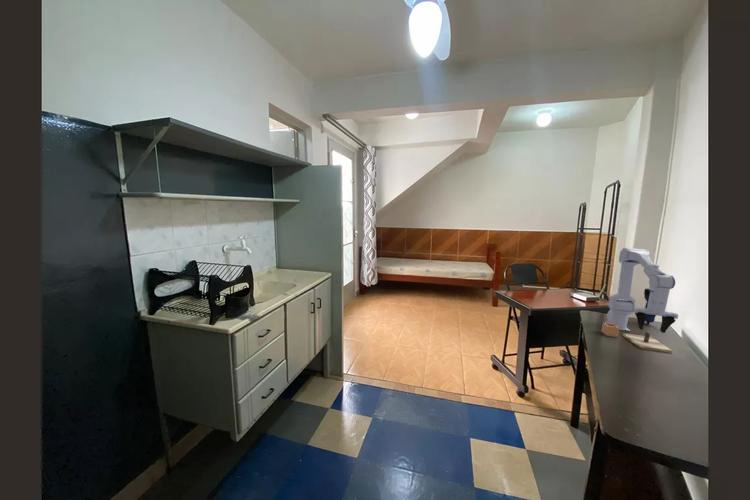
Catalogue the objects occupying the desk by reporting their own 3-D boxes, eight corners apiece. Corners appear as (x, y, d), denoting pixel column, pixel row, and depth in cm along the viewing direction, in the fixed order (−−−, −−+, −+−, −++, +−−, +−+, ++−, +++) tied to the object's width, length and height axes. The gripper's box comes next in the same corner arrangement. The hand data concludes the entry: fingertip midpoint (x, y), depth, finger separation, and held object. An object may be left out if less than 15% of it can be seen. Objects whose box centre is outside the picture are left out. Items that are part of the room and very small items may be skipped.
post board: (622, 335, 141) (624, 324, 141) (651, 339, 138) (653, 328, 137) (639, 348, 128) (642, 336, 127) (671, 353, 125) (674, 341, 124)
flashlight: (651, 322, 160) (658, 289, 157) (661, 328, 152) (668, 293, 149) (634, 320, 162) (641, 287, 159) (643, 326, 154) (650, 291, 151)
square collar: (601, 331, 145) (602, 322, 144) (612, 332, 144) (614, 323, 143) (606, 335, 140) (607, 326, 140) (618, 337, 139) (619, 327, 138)
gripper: (640, 301, 122) (634, 330, 124) (685, 307, 116) (678, 337, 118) (633, 296, 128) (627, 324, 130) (675, 302, 123) (668, 330, 125)
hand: (651, 330), depth 125 cm, fingers open, 7 cm apart
